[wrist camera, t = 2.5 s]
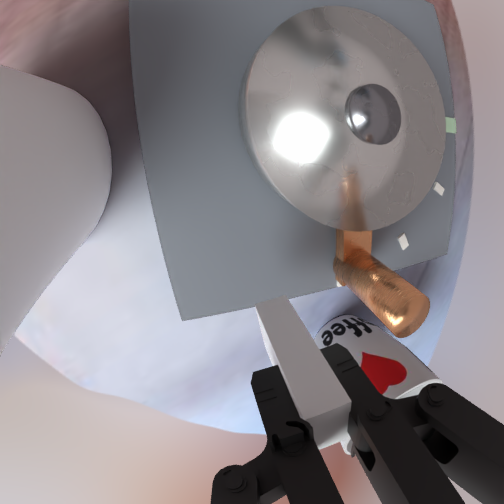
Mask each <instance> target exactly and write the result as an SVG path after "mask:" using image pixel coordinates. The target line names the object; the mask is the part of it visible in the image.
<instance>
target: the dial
mask: <svg viewBox="0 0 504 504" xmlns="http://www.w3.org/2000/svg"><path fill="white" fill-rule="evenodd" d="M238 119H239V126H240V131H241V136H242V139H243V142H244V145H245V148H246V151H247V153H248V155H249V157H250V159H251V161H252V163H253V165H254V167H255V168H256V170H257V171H258V173H259V174H260V176H261V177H262V178H263V180H264V181H265V182H266V183H267V184H268V185H269V187H270V188H271V189H272V190H273V191H275V192H276V193H277V194H278V195H279V196H280V197H281V198H283V199H284V200H285V201H287V202H288V203H290V204H291V205H293V206H294V207H296V208H297V209H299V210H300V211H302V212H303V213H305V214H306V215H307V216H309V217H310V218H312V219H314V220H316V221H318V222H320V223H322V224H324V225H327V226H330V227H333V228H335V229H336V256H335V258H334V261H333V271H334V273H335V279H336V280H337V281H338V282H339V283H340V284H341V285H342V286H345V285H346V286H347V287H348V288H349V289H350V290H351V291H352V292H353V293H354V294H355V295H356V296H357V297H358V298H359V299H360V300H361V301H362V302H363V303H364V304H365V305H366V306H367V307H368V308H369V309H370V310H371V311H372V312H373V313H374V314H375V315H376V316H377V317H378V318H379V319H380V320H381V321H382V322H383V324H384V325H385V326H386V327H387V328H388V329H389V330H390V331H391V332H392V333H393V334H394V335H395V336H396V337H398V338H404V337H407V336H409V335H411V334H412V333H414V332H415V331H416V330H417V329H418V328H419V327H420V326H421V325H422V323H423V322H424V321H425V319H426V317H427V315H428V312H429V308H430V301H429V299H428V297H427V296H425V295H424V294H423V293H422V292H420V291H419V290H418V289H416V288H415V287H414V286H413V285H411V284H410V283H409V282H407V281H406V280H405V279H403V278H402V277H401V276H399V275H398V274H397V273H395V272H394V271H393V270H391V269H390V268H389V267H387V266H386V265H385V264H383V263H382V262H381V261H379V260H378V259H376V258H375V257H374V256H372V255H371V246H372V230H376V229H380V228H383V227H386V226H388V225H391V224H393V223H395V222H397V221H399V220H400V219H402V218H403V217H405V216H406V215H407V214H409V213H410V212H411V211H412V210H414V209H415V208H416V206H417V205H418V204H419V203H420V202H421V201H422V200H423V198H424V197H425V196H426V194H427V193H428V192H429V190H430V188H431V186H432V185H433V183H434V181H435V179H436V176H437V174H438V172H439V169H440V166H441V162H442V159H443V154H444V149H445V140H446V119H445V110H444V105H443V100H442V96H441V93H440V90H439V87H438V84H437V82H436V79H435V77H434V75H433V72H432V71H431V69H430V67H429V65H428V63H427V62H426V60H425V59H424V57H423V56H422V54H421V53H420V51H419V50H418V49H417V48H416V47H415V45H414V44H413V43H412V42H411V41H410V40H409V39H408V38H407V37H406V36H405V35H404V34H403V33H402V32H401V31H399V30H398V29H397V28H395V27H394V26H393V25H391V24H390V23H388V22H387V21H385V20H383V19H381V18H380V17H378V16H375V15H373V14H371V13H369V12H366V11H363V10H359V9H356V8H351V7H344V6H323V7H316V8H312V9H309V10H306V11H303V12H300V13H298V14H296V15H294V16H292V17H290V18H289V19H287V20H286V21H285V22H283V23H282V24H281V25H279V26H278V27H277V28H276V29H275V30H274V31H273V32H272V34H271V35H270V36H269V37H268V38H267V39H266V40H265V42H264V43H263V44H262V45H261V46H260V48H259V49H258V50H257V51H256V52H255V54H254V55H253V57H252V59H251V60H250V62H249V63H248V65H247V68H246V70H245V73H244V75H243V77H242V81H241V86H240V90H239V98H238Z"/></svg>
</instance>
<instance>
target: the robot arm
mask: <svg viewBox="0 0 504 504" xmlns="http://www.w3.org/2000/svg"><path fill="white" fill-rule="evenodd" d="M255 308H256V312H257V316H258V320H259V324H260V328H261V332H262V336H263V340H264V344H265V348H266V350H267V353H268V355H269V358H270V360H271V363H272V365H273V366H272V367H269V368H265V369H262V370H259V371H255V372H253V375H252V380H251V385H252V389H253V392H254V395H255V399H256V402H257V405H258V408H259V412H260V415H261V418H262V421H263V424H264V428H265V431H266V434H267V445H266V447H265V449H264V451H263V452H262V453H261V454H260V455H259V456H258V457H256V458H255V459H253V460H251V461H250V462H248V463H246V464H244V465H243V466H241V465H231V466H227V467H225V468H223V469H221V470H220V471H219V472H218V473H217V474H216V475H215V478H214V480H213V485H212V495H211V504H272V503H273V502H275V501H277V500H278V499H280V498H282V497H283V496H285V495H286V494H287V497H288V500H289V503H290V504H344V502H343V500H342V498H341V496H340V494H339V492H338V490H337V488H336V485H335V483H334V481H333V479H332V477H331V475H330V473H329V471H328V468H327V466H326V464H325V462H324V460H323V458H322V455H321V453H320V451H319V449H322V448H325V447H327V446H330V445H332V444H335V443H337V442H340V441H342V440H344V439H347V434H349V436H350V438H351V440H352V441H353V443H352V448H351V456H352V457H354V456H355V454H356V456H357V458H358V460H359V462H360V464H361V465H362V467H363V469H364V471H365V473H366V475H367V476H368V478H369V480H370V482H371V484H372V486H373V488H374V490H375V491H376V493H377V495H378V497H379V498H380V501H381V502H382V504H465V502H464V501H463V500H462V498H461V496H460V495H459V493H458V492H457V490H456V489H455V488H454V486H453V485H452V483H451V482H450V480H449V479H448V477H449V478H450V479H451V480H452V481H454V482H455V483H456V484H458V485H459V486H460V487H461V488H463V489H464V490H465V491H467V492H468V493H469V494H470V495H472V496H473V497H474V498H476V499H477V500H478V501H480V502H481V503H482V504H504V425H503V424H502V423H500V422H499V421H497V420H496V419H494V418H493V417H491V416H490V415H488V414H487V413H486V412H484V411H483V410H481V409H480V408H478V407H477V406H475V405H474V404H472V403H471V402H470V401H468V400H467V399H465V398H464V397H462V396H461V395H459V394H458V393H456V392H455V391H453V390H452V389H450V388H449V387H448V386H446V385H444V384H441V383H431V384H428V385H426V386H425V387H423V388H422V390H421V391H420V393H419V394H418V395H414V396H410V397H406V398H401V399H391V398H388V397H385V396H383V395H382V394H380V392H379V391H378V390H377V389H376V388H375V386H374V385H373V383H372V382H371V381H370V379H369V378H368V377H367V375H366V374H365V372H364V371H363V370H362V368H361V367H360V366H359V364H358V363H357V361H356V360H355V359H354V357H353V356H352V355H351V353H350V352H349V350H348V349H347V348H345V347H343V346H342V345H340V344H338V343H335V344H333V345H330V346H327V347H325V348H322V349H319V348H318V346H317V345H316V343H315V341H314V340H313V338H312V337H311V335H310V333H309V332H308V330H307V329H306V327H305V325H304V324H303V322H302V321H301V319H300V317H299V316H298V314H297V313H296V311H295V309H294V308H293V306H292V305H291V303H290V301H289V300H288V298H287V297H286V295H283V296H280V297H277V298H274V299H270V300H267V301H264V302H260V303H257V304H255Z"/></svg>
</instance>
